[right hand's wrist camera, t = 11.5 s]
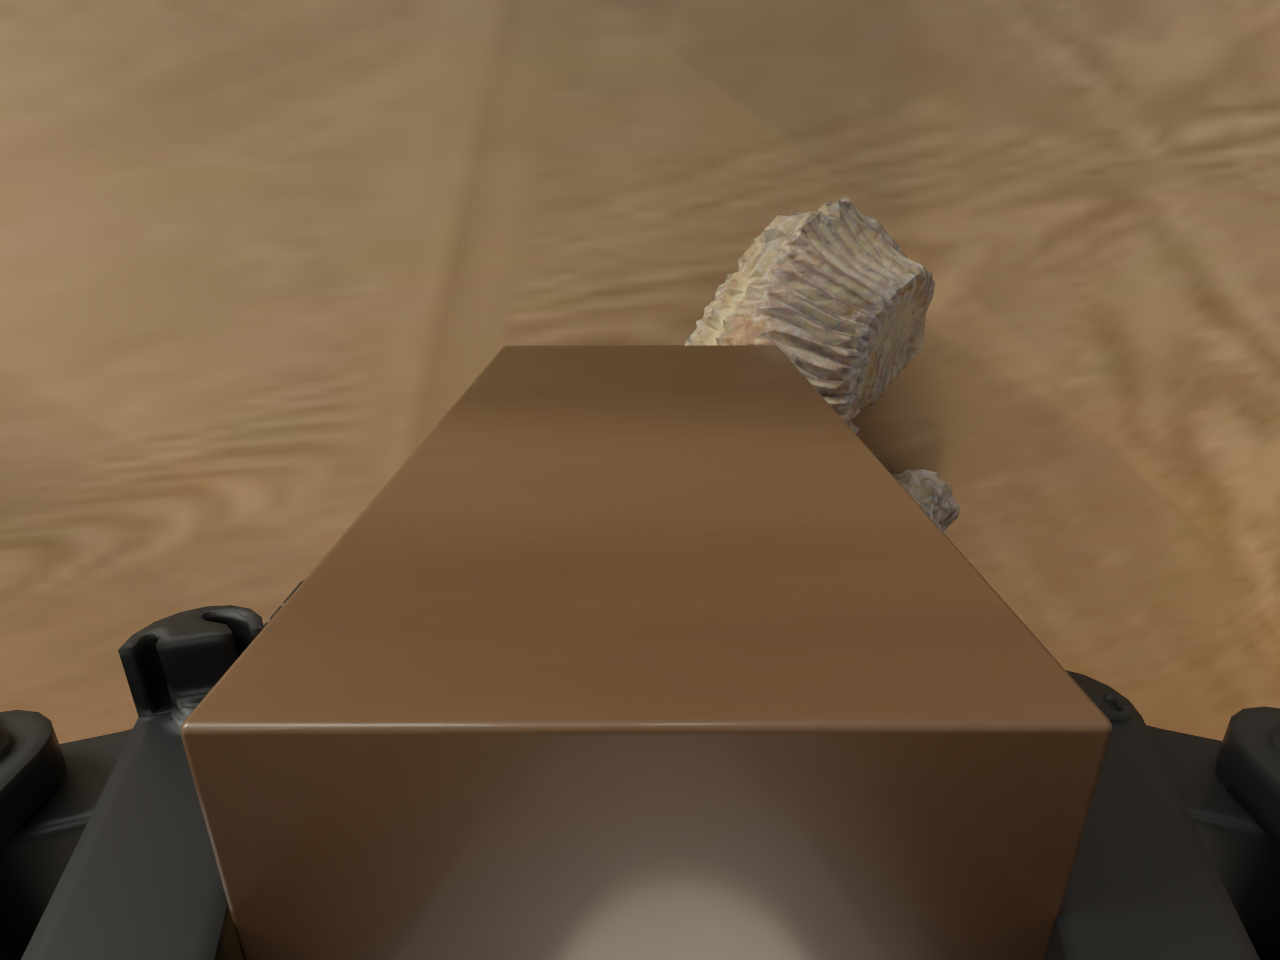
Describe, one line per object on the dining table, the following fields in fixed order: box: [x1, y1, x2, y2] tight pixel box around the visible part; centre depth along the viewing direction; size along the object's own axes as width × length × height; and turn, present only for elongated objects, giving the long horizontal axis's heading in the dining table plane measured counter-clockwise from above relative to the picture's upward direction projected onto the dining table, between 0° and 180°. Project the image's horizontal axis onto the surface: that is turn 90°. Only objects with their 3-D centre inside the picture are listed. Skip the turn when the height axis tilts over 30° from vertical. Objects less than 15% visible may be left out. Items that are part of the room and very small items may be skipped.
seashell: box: [684, 196, 960, 533], centre depth 26 cm, size 14×10×10 cm
